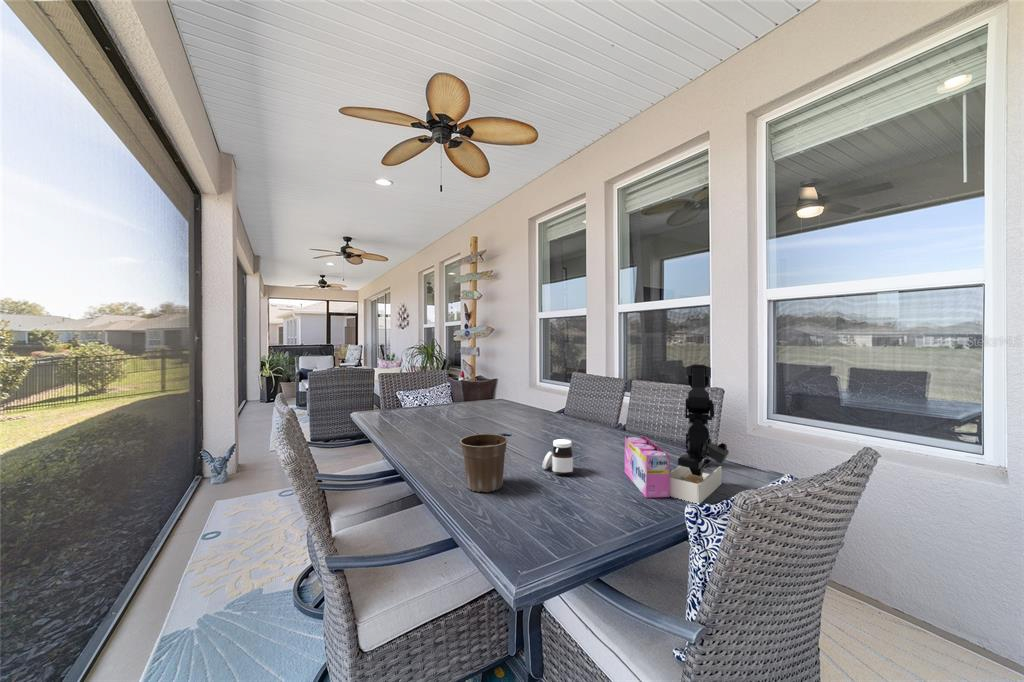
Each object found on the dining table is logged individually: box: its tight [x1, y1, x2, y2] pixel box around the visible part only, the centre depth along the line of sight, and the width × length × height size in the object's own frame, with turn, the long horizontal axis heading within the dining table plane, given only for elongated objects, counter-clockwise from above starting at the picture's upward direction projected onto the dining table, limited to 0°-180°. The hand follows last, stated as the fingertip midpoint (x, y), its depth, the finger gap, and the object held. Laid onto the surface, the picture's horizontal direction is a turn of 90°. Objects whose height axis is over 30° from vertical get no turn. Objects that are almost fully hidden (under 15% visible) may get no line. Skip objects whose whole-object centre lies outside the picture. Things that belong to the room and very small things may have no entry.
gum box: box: [624, 435, 671, 498], centre depth 140 cm, size 24×8×14 cm, turn 2°
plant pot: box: [459, 433, 508, 493], centre depth 139 cm, size 16×16×16 cm
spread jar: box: [541, 438, 574, 477], centre depth 152 cm, size 12×11×12 cm
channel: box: [669, 465, 723, 504], centre depth 135 cm, size 11×22×6 cm, turn 137°
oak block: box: [686, 474, 703, 484], centre depth 128 cm, size 4×4×4 cm
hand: (698, 482), depth 131 cm, fingers closed
